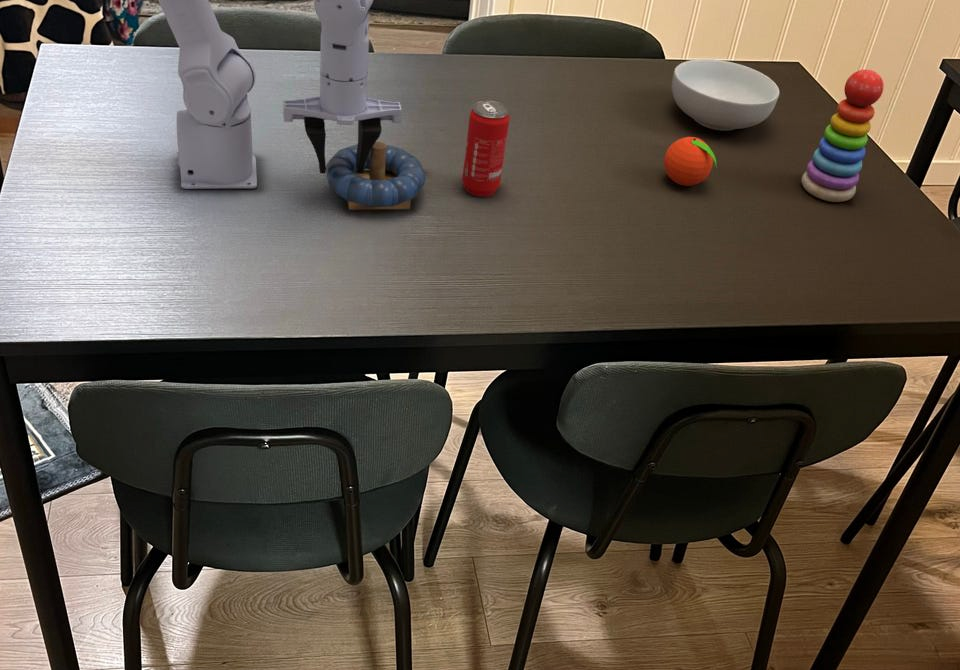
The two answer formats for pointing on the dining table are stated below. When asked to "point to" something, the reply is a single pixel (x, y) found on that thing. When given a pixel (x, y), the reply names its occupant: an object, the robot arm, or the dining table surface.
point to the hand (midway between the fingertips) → (341, 169)
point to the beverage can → (485, 148)
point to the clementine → (688, 161)
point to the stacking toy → (844, 141)
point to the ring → (376, 190)
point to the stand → (377, 175)
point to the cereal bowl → (723, 94)
